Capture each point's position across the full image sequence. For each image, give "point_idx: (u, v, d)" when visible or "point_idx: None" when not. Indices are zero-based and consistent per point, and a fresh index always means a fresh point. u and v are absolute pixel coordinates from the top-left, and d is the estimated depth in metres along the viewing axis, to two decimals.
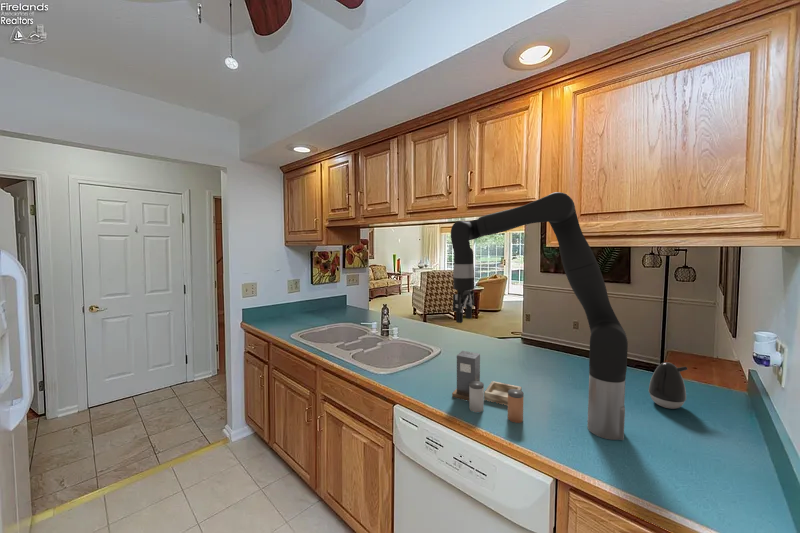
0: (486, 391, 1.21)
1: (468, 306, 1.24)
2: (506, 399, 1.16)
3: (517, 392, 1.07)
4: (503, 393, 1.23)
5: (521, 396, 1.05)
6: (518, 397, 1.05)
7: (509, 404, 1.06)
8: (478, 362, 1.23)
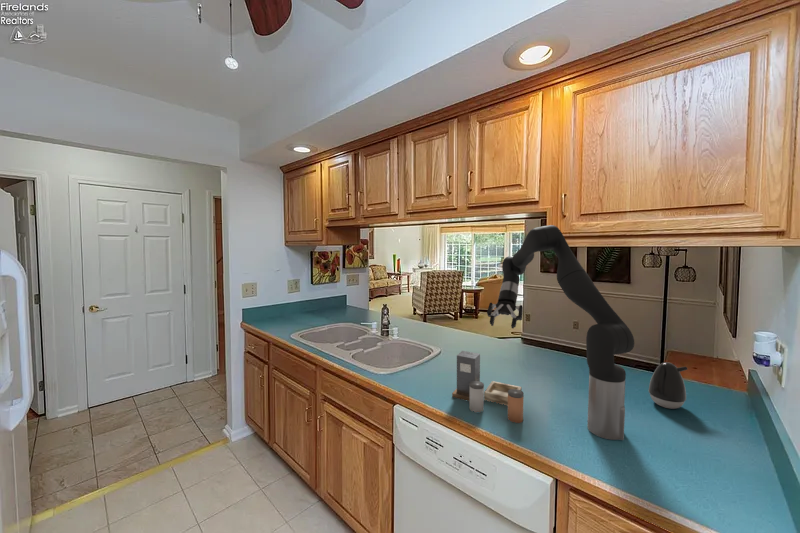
0: (486, 391, 1.21)
1: None
2: (506, 399, 1.16)
3: (517, 392, 1.07)
4: (503, 393, 1.23)
5: (521, 396, 1.05)
6: (518, 397, 1.05)
7: (509, 404, 1.06)
8: (478, 362, 1.23)
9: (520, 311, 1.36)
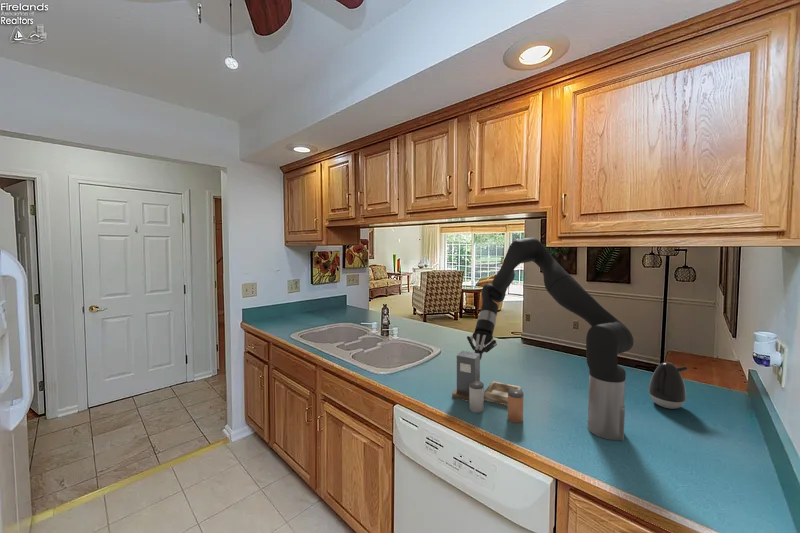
0: (486, 391, 1.21)
1: None
2: (506, 399, 1.16)
3: (517, 392, 1.07)
4: (503, 393, 1.23)
5: (521, 396, 1.05)
6: (518, 397, 1.05)
7: (509, 404, 1.06)
8: (478, 362, 1.23)
9: (489, 345, 1.34)
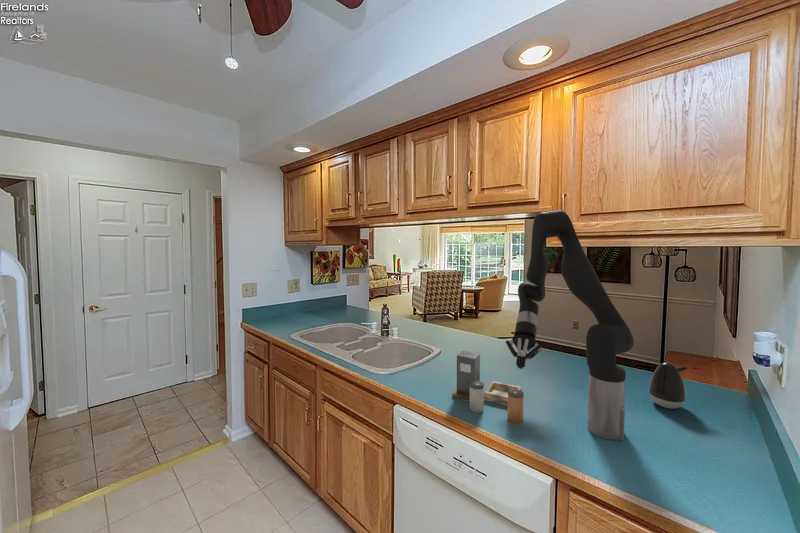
0: (486, 391, 1.21)
1: None
2: (506, 399, 1.16)
3: (517, 392, 1.07)
4: (503, 393, 1.23)
5: (521, 396, 1.05)
6: (518, 397, 1.05)
7: (509, 404, 1.06)
8: (478, 362, 1.23)
9: (534, 350, 1.17)
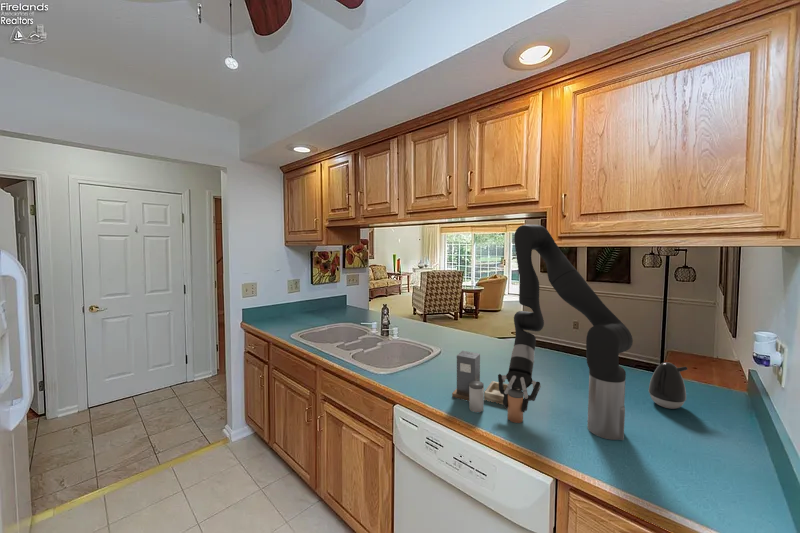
0: (486, 391, 1.21)
1: None
2: None
3: (517, 392, 1.07)
4: None
5: (521, 396, 1.05)
6: (518, 397, 1.05)
7: (509, 404, 1.06)
8: (478, 362, 1.23)
9: (535, 390, 1.06)
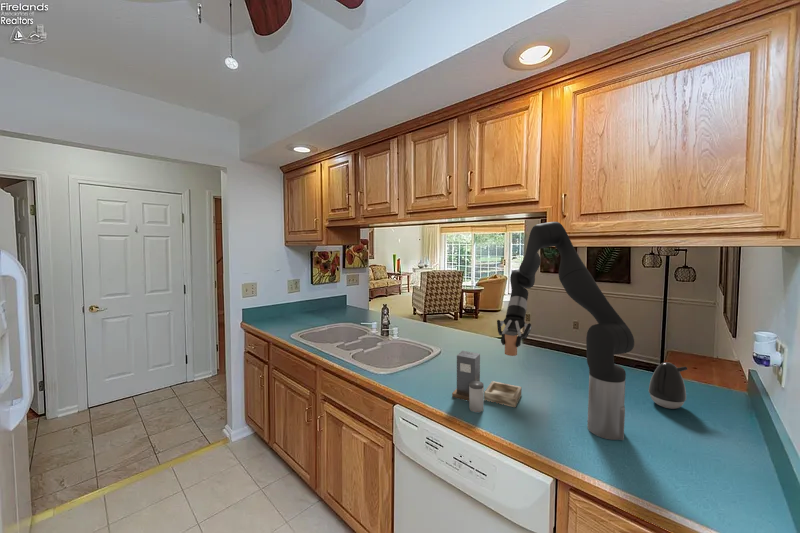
0: (486, 391, 1.21)
1: None
2: (506, 399, 1.16)
3: (512, 331, 1.32)
4: (503, 393, 1.23)
5: (515, 334, 1.30)
6: (513, 335, 1.29)
7: (506, 341, 1.31)
8: (478, 362, 1.23)
9: (527, 329, 1.31)
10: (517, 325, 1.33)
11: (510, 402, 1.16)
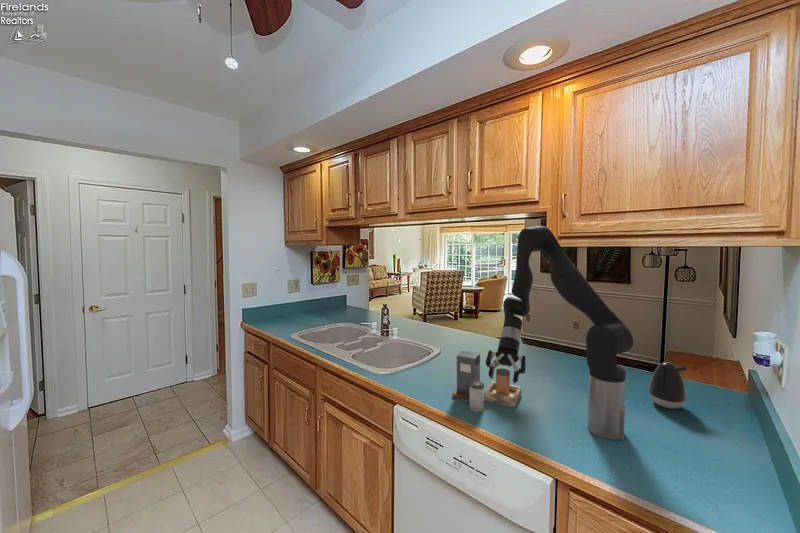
0: (486, 391, 1.21)
1: None
2: (506, 399, 1.16)
3: (504, 371, 1.22)
4: None
5: (507, 374, 1.20)
6: (505, 375, 1.19)
7: (497, 381, 1.21)
8: (478, 362, 1.23)
9: (523, 363, 1.21)
10: (511, 359, 1.23)
11: (510, 402, 1.16)
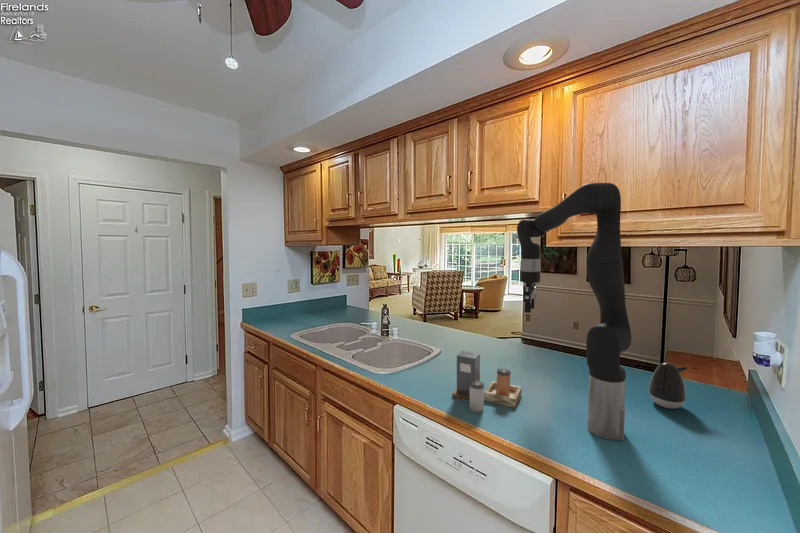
0: (486, 391, 1.21)
1: (531, 297, 1.35)
2: (506, 399, 1.16)
3: (505, 371, 1.21)
4: None
5: (508, 374, 1.20)
6: (506, 375, 1.19)
7: (498, 381, 1.21)
8: (478, 362, 1.23)
9: None
10: (535, 290, 1.32)
11: (510, 402, 1.16)
